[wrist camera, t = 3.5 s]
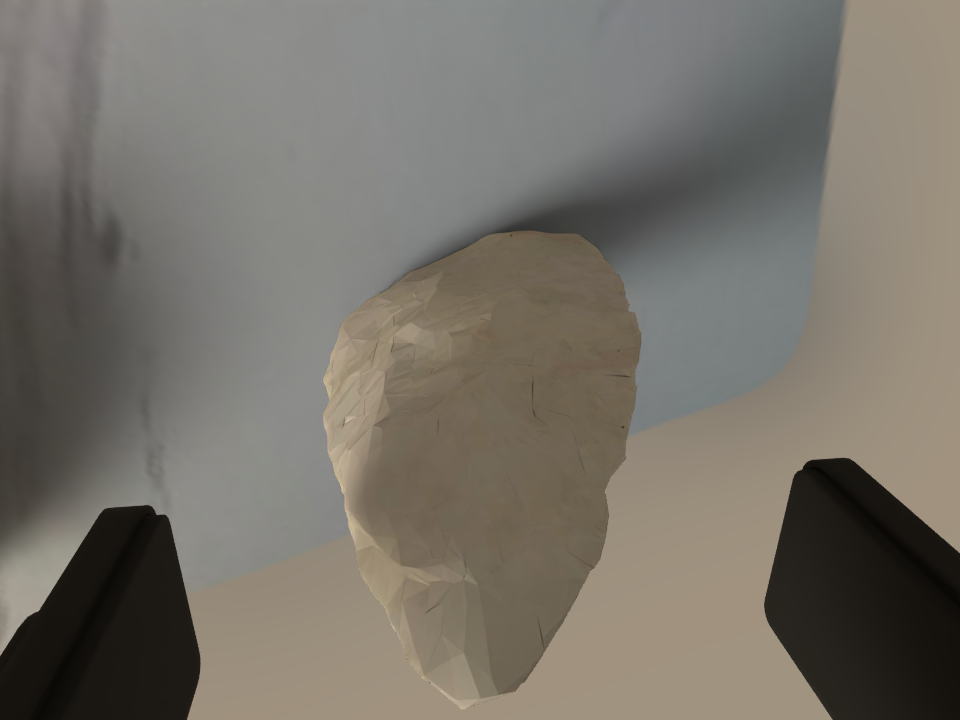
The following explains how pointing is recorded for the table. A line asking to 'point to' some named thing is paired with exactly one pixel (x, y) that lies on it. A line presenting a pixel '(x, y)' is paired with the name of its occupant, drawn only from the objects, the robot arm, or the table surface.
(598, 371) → the stone tool
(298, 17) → the table surface
